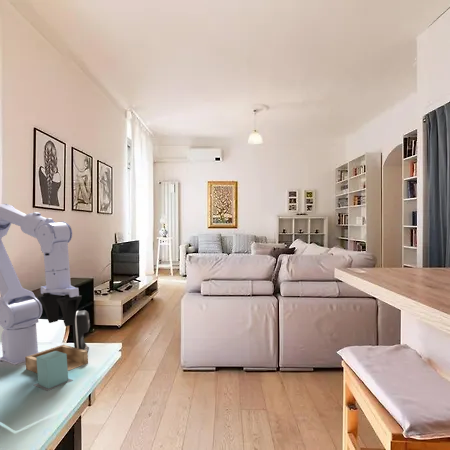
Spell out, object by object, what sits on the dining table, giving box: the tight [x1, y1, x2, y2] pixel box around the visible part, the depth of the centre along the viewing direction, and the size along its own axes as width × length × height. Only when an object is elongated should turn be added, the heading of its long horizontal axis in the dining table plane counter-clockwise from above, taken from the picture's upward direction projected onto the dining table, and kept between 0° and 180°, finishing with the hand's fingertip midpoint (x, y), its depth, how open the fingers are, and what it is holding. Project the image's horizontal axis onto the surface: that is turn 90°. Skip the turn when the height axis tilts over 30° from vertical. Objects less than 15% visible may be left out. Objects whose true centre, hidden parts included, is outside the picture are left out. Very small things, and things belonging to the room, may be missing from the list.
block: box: [36, 351, 69, 389], centre depth 83 cm, size 4×4×6 cm
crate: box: [25, 344, 89, 374], centre depth 94 cm, size 11×10×3 cm
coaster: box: [33, 377, 74, 392], centre depth 83 cm, size 6×6×1 cm
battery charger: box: [72, 309, 91, 354], centre depth 103 cm, size 7×4×11 cm, turn 15°
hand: (61, 323), depth 95 cm, fingers open, 7 cm apart
